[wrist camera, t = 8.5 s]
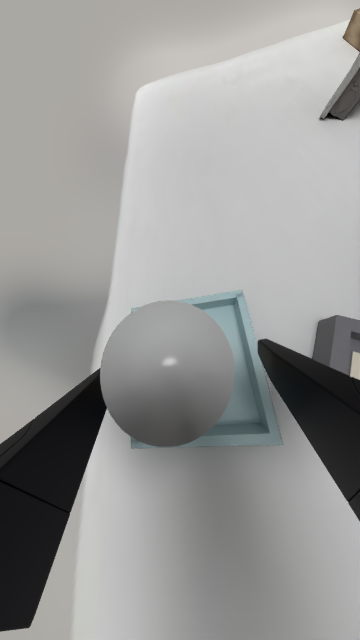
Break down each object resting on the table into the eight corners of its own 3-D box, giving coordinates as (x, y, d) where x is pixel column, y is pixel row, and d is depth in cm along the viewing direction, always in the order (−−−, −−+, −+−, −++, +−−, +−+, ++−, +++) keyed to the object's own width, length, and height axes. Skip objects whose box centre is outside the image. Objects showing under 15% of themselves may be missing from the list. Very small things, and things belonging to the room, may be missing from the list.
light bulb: (221, 367, 16) (269, 382, 4) (189, 392, 16) (140, 485, 4) (196, 335, 18) (178, 278, 6) (167, 358, 18) (81, 349, 5)
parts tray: (268, 429, 15) (283, 444, 12) (142, 434, 16) (130, 448, 14) (237, 299, 19) (242, 289, 16) (140, 315, 21) (131, 308, 18)
